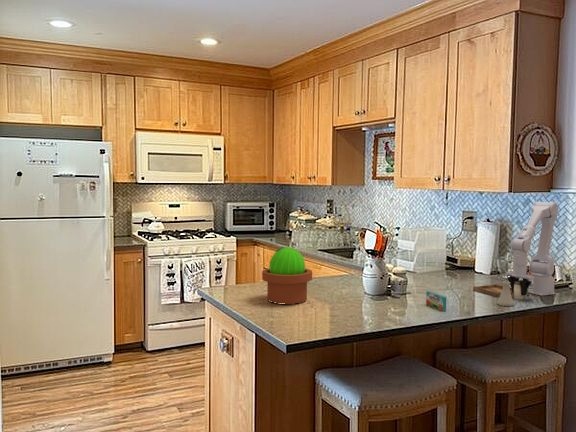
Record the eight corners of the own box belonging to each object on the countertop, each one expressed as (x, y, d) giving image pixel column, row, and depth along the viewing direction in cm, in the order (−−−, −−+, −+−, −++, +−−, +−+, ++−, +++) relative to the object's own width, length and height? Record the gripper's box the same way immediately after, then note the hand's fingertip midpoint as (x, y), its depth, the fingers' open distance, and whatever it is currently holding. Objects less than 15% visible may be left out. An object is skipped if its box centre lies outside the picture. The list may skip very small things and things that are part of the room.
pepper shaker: (518, 297, 240) (519, 280, 239) (526, 299, 236) (526, 282, 235) (511, 298, 238) (512, 281, 237) (518, 300, 234) (519, 282, 233)
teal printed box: (426, 304, 226) (426, 291, 225) (428, 304, 226) (429, 290, 226) (443, 311, 214) (443, 297, 214) (446, 311, 215) (446, 296, 214)
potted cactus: (321, 300, 234) (321, 245, 232) (288, 309, 217) (289, 250, 216) (285, 292, 248) (285, 241, 247) (252, 301, 232) (252, 246, 230)
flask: (516, 307, 222) (517, 284, 221) (498, 306, 223) (499, 283, 222) (512, 303, 229) (513, 280, 228) (495, 302, 230) (495, 280, 229)
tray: (496, 288, 259) (496, 284, 259) (519, 294, 246) (519, 290, 246) (473, 290, 254) (473, 286, 253) (495, 297, 240) (495, 292, 240)
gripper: (501, 262, 241) (500, 291, 242) (526, 267, 227) (525, 298, 228) (512, 261, 243) (511, 290, 244) (538, 266, 230) (536, 296, 231)
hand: (518, 294), depth 237 cm, fingers open, 5 cm apart
